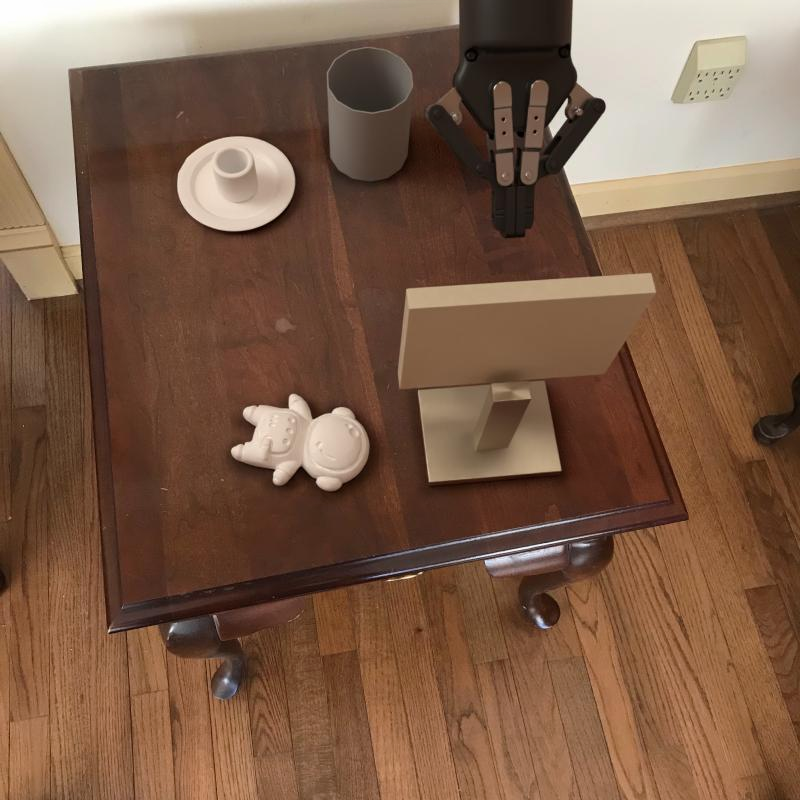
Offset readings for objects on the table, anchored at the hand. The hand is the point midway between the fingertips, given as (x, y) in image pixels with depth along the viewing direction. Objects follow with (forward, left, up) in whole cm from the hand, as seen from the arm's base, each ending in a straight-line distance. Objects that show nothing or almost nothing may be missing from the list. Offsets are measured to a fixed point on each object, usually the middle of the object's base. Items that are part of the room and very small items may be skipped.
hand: (512, 236), depth 61 cm
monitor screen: (0, +6, -10) cm, 12 cm away
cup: (+8, -26, -21) cm, 34 cm away
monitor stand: (0, +8, -20) cm, 22 cm away
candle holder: (+22, -22, -21) cm, 37 cm away
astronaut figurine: (+17, +7, -21) cm, 28 cm away
